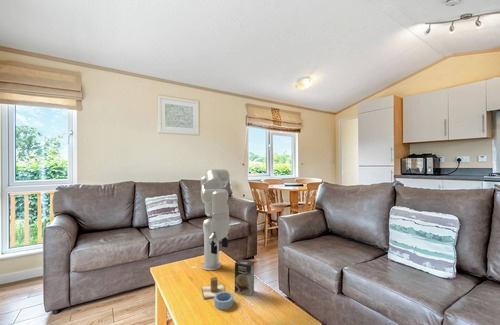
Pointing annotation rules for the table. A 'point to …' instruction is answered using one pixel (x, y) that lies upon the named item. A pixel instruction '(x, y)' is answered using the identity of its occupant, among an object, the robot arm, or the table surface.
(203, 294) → the mat
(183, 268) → the table surface
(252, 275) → the coffee box
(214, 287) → the lid
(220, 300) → the bowl
